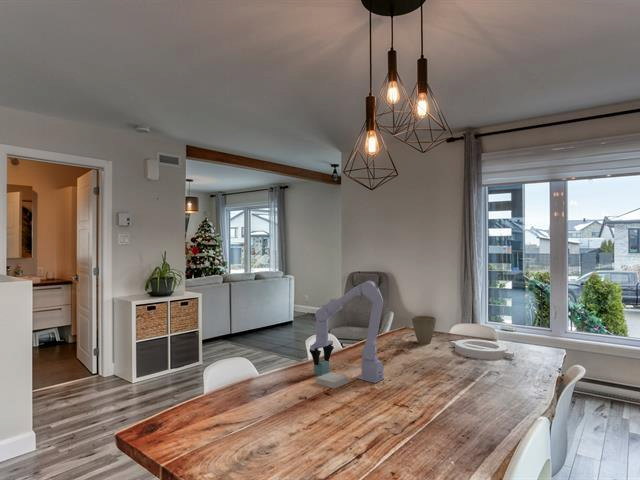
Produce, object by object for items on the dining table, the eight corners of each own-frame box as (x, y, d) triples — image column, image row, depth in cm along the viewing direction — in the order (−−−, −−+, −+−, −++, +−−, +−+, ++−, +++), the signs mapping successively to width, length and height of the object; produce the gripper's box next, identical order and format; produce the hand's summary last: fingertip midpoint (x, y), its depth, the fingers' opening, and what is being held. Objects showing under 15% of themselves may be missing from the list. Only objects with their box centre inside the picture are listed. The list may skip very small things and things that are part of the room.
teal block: (329, 374, 184) (329, 361, 185) (322, 377, 181) (322, 363, 181) (320, 372, 188) (321, 359, 188) (314, 374, 184) (314, 361, 184)
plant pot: (421, 339, 260) (421, 314, 260) (440, 343, 249) (440, 318, 249) (406, 342, 251) (407, 317, 251) (426, 346, 239) (426, 320, 240)
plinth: (348, 382, 173) (348, 376, 173) (334, 388, 165) (334, 382, 166) (330, 377, 180) (330, 372, 180) (316, 383, 172) (316, 377, 172)
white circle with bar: (449, 346, 242) (449, 338, 242) (495, 347, 241) (495, 339, 241) (463, 359, 214) (463, 350, 214) (516, 360, 213) (516, 351, 213)
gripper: (325, 330, 193) (324, 358, 192) (305, 334, 182) (304, 364, 181) (336, 332, 188) (336, 361, 188) (317, 337, 177) (316, 367, 177)
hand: (321, 363), depth 184 cm, fingers open, 7 cm apart
